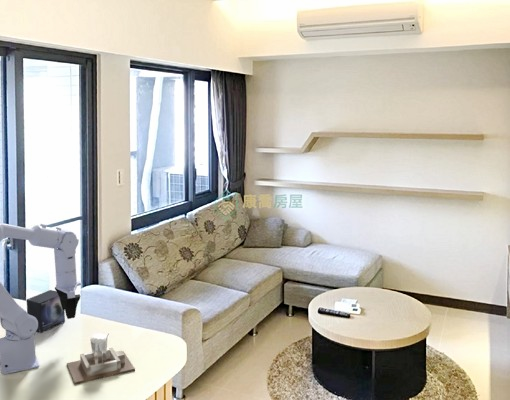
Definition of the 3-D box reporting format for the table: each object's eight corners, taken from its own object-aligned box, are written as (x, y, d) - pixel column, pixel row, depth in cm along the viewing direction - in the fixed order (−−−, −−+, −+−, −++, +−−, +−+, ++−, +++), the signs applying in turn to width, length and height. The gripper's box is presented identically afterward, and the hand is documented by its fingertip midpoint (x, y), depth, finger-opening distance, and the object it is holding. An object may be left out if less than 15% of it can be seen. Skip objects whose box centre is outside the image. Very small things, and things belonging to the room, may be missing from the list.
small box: (42, 334, 174) (39, 302, 172) (27, 330, 177) (24, 299, 175) (66, 322, 184) (64, 292, 182) (51, 318, 186) (49, 289, 184)
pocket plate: (75, 384, 144) (74, 373, 143) (66, 365, 154) (66, 354, 153) (134, 370, 151) (134, 360, 150) (123, 353, 161) (122, 343, 161)
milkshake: (105, 371, 149) (104, 337, 147) (88, 368, 151) (86, 334, 149) (114, 363, 154) (112, 330, 152) (97, 361, 155) (95, 327, 153)
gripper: (84, 274, 157) (87, 319, 159) (75, 261, 169) (77, 303, 172) (58, 278, 154) (62, 324, 156) (51, 264, 166) (54, 307, 169)
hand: (68, 313), depth 164 cm, fingers open, 7 cm apart
